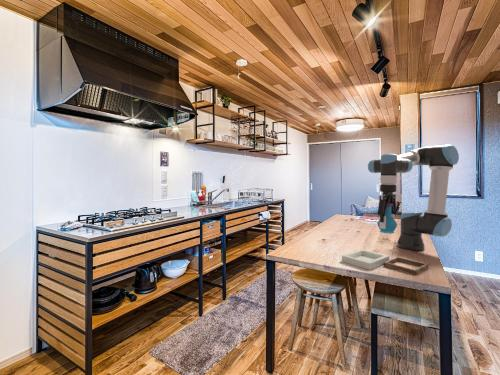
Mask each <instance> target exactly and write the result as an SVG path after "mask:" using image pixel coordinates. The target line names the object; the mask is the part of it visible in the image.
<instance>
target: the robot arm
mask: <svg viewBox="0 0 500 375" xmlns="http://www.w3.org/2000/svg"><path fill="white" fill-rule="evenodd" d="M459 155H460V154H459V151H458V149H457V147H456V146H454V145H452V144H441V145H431V146H430V145H429V146H424V147H419V148H415V149H413V150H409V151H407V152H406V153H402V154H399V155H398V154H396V153H386V154H382V155H381V156H380V159H373V160H369V162H368V164H367V169H368V172H369V173H372V174H379V175H380V176H379V183H380V185H379V192H382V195H381V194H380V195H379V196H378V198H379V201H378V206H377V207H378V208H377V216H379V220H380V228H382V229H386V216H385V213H386V209H387V206H388V204H389V203H391V204H392V207H391V216H392V217H393V219H394V220H395V215H397V214H398V213H397V199H396V198H397V195H396V194H394V193H396V192H397V185H396V184H397V181H398V180H397V179H398V175H397V174H398V173H400V174H405V173H406V174H407V173H410V172H411V171H412V170H413V166H428V168H429V169H430V170H431V173H430V182H429V183H430V184H429V190H428V191H429V192H428V202H427V209H426V210H425V211H424V212H422V211H404V212H402V213H401V214H400V235H399V237H398V240H397V242H396V246H397V247H398V248H401V249H402V250H403V249H404V250H411V251H424V250H425V248H426V247H425V246H426V245H425V243H424V239H423V236H422V234H425V235H428V236H432V237H433V236H434V237H440V238H444V237H446V236H447V235H448V234H449V233H450V232H451V229H452V227H453V226H452V225H453V222H452V219H451V218H450V217H449V214H448V213H447V212H446V207H447V206H446V205H447V194H448V186H449V178H450V177H449V176H450V171H451V170H453V169H454V166H455V165H457V164H458V162H459V160H460V158H459Z"/></svg>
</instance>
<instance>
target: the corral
mask: <svg viewBox="0 0 500 375" xmlns="http://www.w3.org/2000/svg"><path fill="white" fill-rule="evenodd" d="M397 262H399V263H400V262H401V263H404V264H408V265H412V266H417V268H415V269H413V268H409V267H406V266H403V265H398V264H395V263H397ZM383 267H386V268H389V269H392V270H395V271H396V270H397V271H400V272H403V273H407V274H410V275H413V276H417V275H418V274H420V273H422V272H424V271H426V270H427V269H429V263H425V262H420V261H417V260H412V259H408V258H404V257H401V256H396V257H393V258H390V260H388V261H386V262H384V264H383Z"/></svg>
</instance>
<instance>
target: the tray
mask: <svg viewBox="0 0 500 375" xmlns="http://www.w3.org/2000/svg"><path fill="white" fill-rule="evenodd" d="M390 259H391V258H390V255H387V254H384V253H378V252H375V251H372V250H366V249H362V248H361V249H358V250H354V251H352V252H349V253H346V254H343V255H341V262H342V263H347V264H349V265H353V266H356V267H360V268H363V269H367V270H371V271H372V270H373V269H375V268H378V267H379V266H382V265H383V266H384V262H386V261H388V260H390Z"/></svg>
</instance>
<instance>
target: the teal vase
mask: <svg viewBox="0 0 500 375" xmlns="http://www.w3.org/2000/svg"><path fill="white" fill-rule="evenodd" d="M391 207H392V204H391V203H389V204H388V206H387V209H386V213H385V216H386V229H382V228H380V219H379V220H377V223H376V224H377V227H378V229H379V232H380V233H383V234H390V235H391V234H392V235H393V234H395V231H396V229H397V227H398V223H397V221H396V220H395V218H394V219H393V217H392V216H391Z"/></svg>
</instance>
